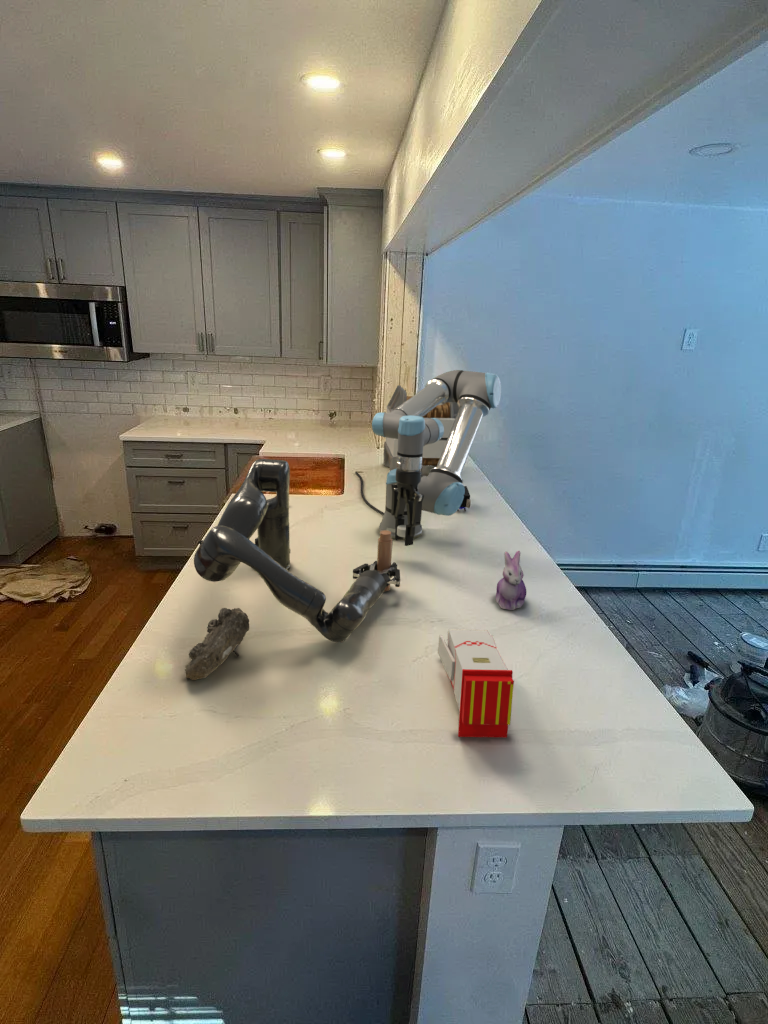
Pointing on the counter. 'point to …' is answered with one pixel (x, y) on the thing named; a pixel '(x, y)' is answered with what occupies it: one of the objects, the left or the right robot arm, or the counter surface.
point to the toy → (478, 682)
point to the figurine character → (465, 500)
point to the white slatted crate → (440, 412)
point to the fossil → (217, 643)
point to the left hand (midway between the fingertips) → (387, 564)
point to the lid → (401, 530)
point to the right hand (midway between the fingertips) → (403, 541)
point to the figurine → (511, 584)
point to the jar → (384, 552)
